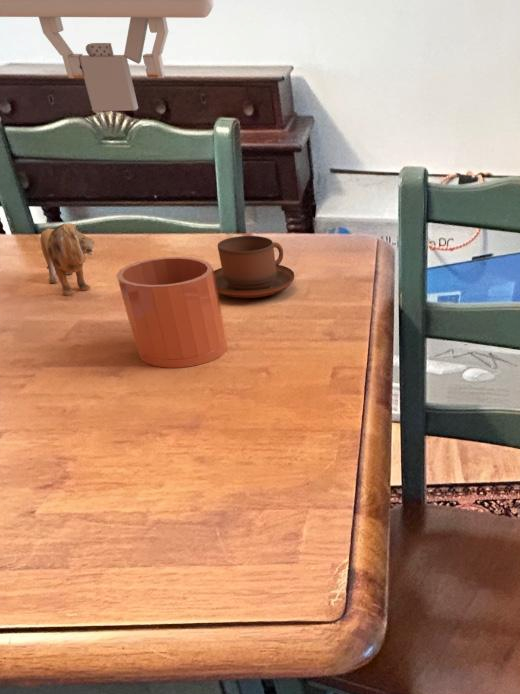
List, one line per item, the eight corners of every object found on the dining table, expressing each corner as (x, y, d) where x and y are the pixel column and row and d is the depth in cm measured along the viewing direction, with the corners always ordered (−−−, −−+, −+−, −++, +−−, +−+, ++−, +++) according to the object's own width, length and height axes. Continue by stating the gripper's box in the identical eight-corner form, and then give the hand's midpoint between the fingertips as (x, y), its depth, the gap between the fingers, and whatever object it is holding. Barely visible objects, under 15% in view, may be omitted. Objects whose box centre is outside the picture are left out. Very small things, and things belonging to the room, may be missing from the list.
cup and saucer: (238, 272, 109) (230, 227, 105) (310, 282, 106) (305, 236, 102) (191, 298, 100) (181, 250, 96) (268, 310, 98) (261, 261, 93)
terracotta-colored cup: (131, 369, 83) (108, 288, 77) (146, 335, 91) (126, 258, 85) (223, 365, 84) (207, 284, 78) (230, 331, 92) (216, 255, 86)
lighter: (92, 111, 72) (64, 6, 67) (95, 108, 73) (68, 5, 68) (167, 109, 73) (145, 6, 68) (169, 107, 74) (148, 5, 69)
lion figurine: (112, 293, 102) (92, 223, 96) (75, 303, 99) (52, 230, 93) (66, 268, 109) (45, 201, 103) (30, 276, 106) (6, 208, 100)
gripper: (-75, -128, 59) (-6, 82, 68) (189, -122, 61) (221, 80, 70) (-47, -122, 63) (14, 73, 73) (197, -116, 66) (226, 72, 75)
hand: (118, 77), depth 71 cm, fingers closed on lighter, 6 cm apart
